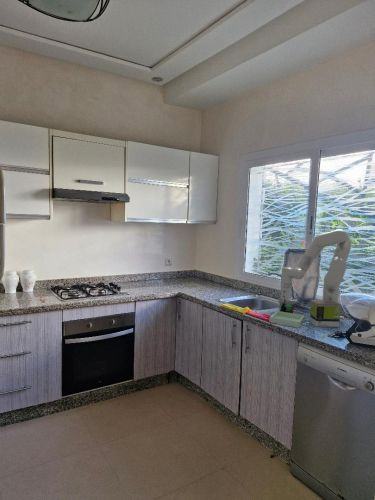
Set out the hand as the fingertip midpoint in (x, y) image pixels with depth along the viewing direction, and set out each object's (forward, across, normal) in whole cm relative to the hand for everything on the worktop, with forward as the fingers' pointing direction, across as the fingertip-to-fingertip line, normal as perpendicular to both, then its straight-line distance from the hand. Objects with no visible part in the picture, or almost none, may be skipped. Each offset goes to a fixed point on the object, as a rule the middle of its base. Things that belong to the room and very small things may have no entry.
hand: (284, 310), depth 241 cm
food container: (+2, -1, 0) cm, 3 cm away
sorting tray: (+2, -18, -6) cm, 19 cm away
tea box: (+3, -10, -27) cm, 29 cm away
